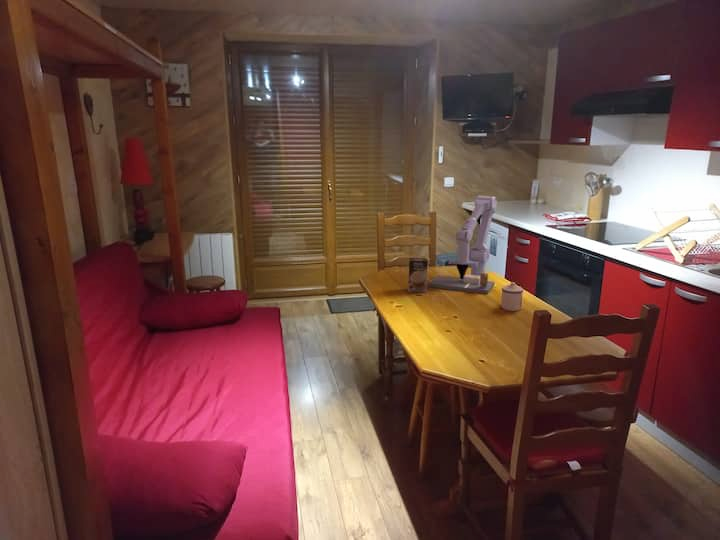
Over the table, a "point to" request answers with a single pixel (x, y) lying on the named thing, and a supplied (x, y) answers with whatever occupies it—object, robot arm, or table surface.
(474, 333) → the table surface
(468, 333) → the table surface
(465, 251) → the robot arm
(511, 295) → the teacup with lid
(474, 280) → the stud finder
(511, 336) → the table surface
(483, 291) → the subfloor board
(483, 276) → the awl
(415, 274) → the coffee box
